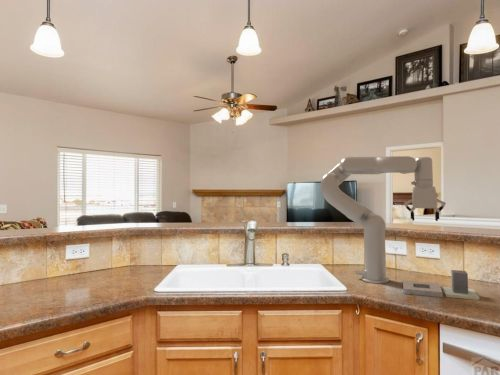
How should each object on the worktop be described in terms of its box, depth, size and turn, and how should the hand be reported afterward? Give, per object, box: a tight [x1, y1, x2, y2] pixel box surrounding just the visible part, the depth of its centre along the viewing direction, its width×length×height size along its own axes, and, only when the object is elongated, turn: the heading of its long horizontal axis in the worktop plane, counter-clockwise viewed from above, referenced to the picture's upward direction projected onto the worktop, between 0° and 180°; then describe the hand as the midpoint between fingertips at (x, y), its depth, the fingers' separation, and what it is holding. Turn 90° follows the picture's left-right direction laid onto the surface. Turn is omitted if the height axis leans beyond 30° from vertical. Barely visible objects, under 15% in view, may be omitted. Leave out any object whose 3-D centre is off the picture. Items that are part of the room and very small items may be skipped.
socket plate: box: [402, 280, 443, 298], centre depth 143 cm, size 14×14×2 cm
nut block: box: [450, 269, 469, 294], centre depth 137 cm, size 5×5×8 cm
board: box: [442, 286, 480, 301], centre depth 137 cm, size 11×12×1 cm
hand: (424, 220), depth 156 cm, fingers open, 9 cm apart
